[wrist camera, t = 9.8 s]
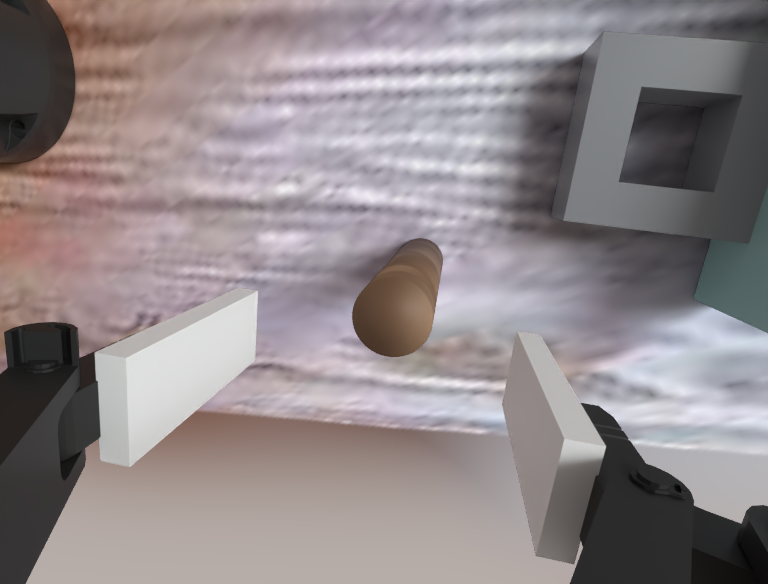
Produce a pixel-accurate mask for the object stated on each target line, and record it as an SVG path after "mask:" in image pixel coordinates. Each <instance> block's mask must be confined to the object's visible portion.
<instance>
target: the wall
mask: <svg viewBox="0 0 768 584" xmlns="http://www.w3.org/2000/svg"><path fill="white" fill-rule="evenodd" d="M693 299H694V300H696V301H699V302H701V303H703V304H705V305H707V306H710V307H712V308H714V309H716V310H718V311H721V312H723V313H725V314H727V315H729V316H731V317H734V318H736V319H738V320H740V321H742V322H745V323H747V324H749V325H751V326H753V327H756V328H758V329H760V330H762V331H764V332H767V333H768V186H767V189H766V192H765V195H764V198H763V201H762V204H761V207H760V210H759V214H758V217H757V220H756V223H755V226H754V229H753V232H752V235H751V238H750V241H749V244H747V243H739V242H731V241H723V240H715V239H711V241H710V245H709V248H708V251H707V255H706V258H705V261H704V265H703V268H702V271H701V275H700V278H699V281H698V285H697V288H696V291H695V295H694V298H693Z"/></svg>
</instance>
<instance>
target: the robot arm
mask: <svg viewBox="0 0 768 584" xmlns="http://www.w3.org/2000/svg"><path fill="white" fill-rule="evenodd" d="M74 94H75V71H74V63H73V57H72V52H71V49H70V45H69V42H68V39H67V36H66V34H65V31H64V29H63V27H62V24H61V22H60V21H59V19H58V17H57V15H56V13H55V12H54V10H53V9H52V7H51V6H50V4H49V3H48V2H47V0H0V163H20V162H25V161H28V160H31V159H34V158H36V157H38V156H40V155H41V154H43V153H44V152H46V151H47V150H48V149H49V148H50V147H51V146H52V145H53V144H54V143H55V142H56V141H57V140H58V138H59V137H60V136H61V134H62V132H63V131H64V129H65V127H66V125H67V122H68V120H69V117H70V114H71V111H72V107H73V102H74ZM257 306H258V291H257V290H251V289H244V288H237V289H234V290H232V291H230V292H228V293H225V294H223V295H221V296H219V297H217V298H214V299H212V300H210V301H208V302H205V303H203V304H201V305H199V306H197V307H194V308H192V309H190V310H188V311H185V312H183V313H181V314H179V315H176V316H174V317H172V318H170V319H168V320H165V321H163V322H161V323H159V324H156V325H154V326H152V327H150V328H148V329H145V330H143V331H141V332H139V333H136V334H133V335H130V336H128V337H126V338H124V339H121V340H119V342H115V343H112V344H110V345H108V346H107V347H104V348H101V349H99V350H97V351H95V352H92V353H90V354H88V355H86V356H83V357H81V358H79V342H78V328H77V327H75V326H74V325H71V324H67V323H58V322H46V323H34V324H27V325H23V326H19V327H15V328H12V329H10V330H8V331H6V332H4V336H5V345H6V355H7V364H8V368H7V369H6V370H5V371H3V372H2V373H1V374H0V584H26V582H27V579H28V577H29V576H30V574H31V571H32V569H33V568H34V566H35V564H36V562H37V560H38V558H39V556H40V554H41V552H42V550H43V548H44V546H45V544H46V542H47V540H48V538H49V536H50V534H51V532H52V530H53V528H54V526H55V524H56V522H57V520H58V518H59V516H60V514H61V512H62V510H63V508H64V506H65V504H66V502H67V500H68V498H69V496H70V494H71V492H72V490H73V488H74V486H75V484H76V482H77V480H78V478H79V476H80V474H81V472H82V470H83V468H84V466H85V460H86V455H85V448H86V447H87V446H89V445H90V444H91V443H93V442H94V441H96V440H97V439H99V446H100V461H104V462H108V463H113V464H118V465H122V466H127V467H130V466H132V465H133V464H134V463H135V462H136V461H137V460H139V459H140V458H141V457H142V456H143V455H144V454H146V453H147V452H148V451H149V450H150V449H152V448H153V447H154V446H155V445H156V444H157V443H159V442H160V441H161V440H162V439H163V438H164V437H166V436H167V435H168V434H169V433H170V432H172V431H173V430H174V429H175V428H176V427H177V426H178V425H180V424H181V423H182V422H183V421H184V420H186V419H187V418H188V417H189V416H190V415H192V414H193V413H194V412H195V411H196V410H197V409H199V408H200V407H201V406H202V405H203V404H204V403H206V402H207V401H208V400H209V399H210V398H211V397H213V396H214V395H215V394H216V393H217V392H219V391H220V390H221V389H222V388H223V387H224V386H226V385H227V384H228V383H229V382H230V381H231V380H233V379H234V378H235V377H236V376H237V375H239V374H240V373H241V372H242V371H243V370H244V369H246V368H247V367H248V366H249V365H250V364H251V363H253V362H254V361H255V350H256V328H257ZM502 406H503V410H504V415H505V419H506V424H507V428H508V433H509V437H510V442H511V446H512V451H513V455H514V459H515V464H516V469H517V473H518V477H519V482H520V487H521V491H522V496H523V500H524V505H525V509H526V514H527V518H528V523H529V527H530V532H531V536H532V541H533V545H534V550H535V554H536V556H538V557H544V558H548V559H552V560H557V561H562V562H566V563H571V564H574V563H575V559H576V555H577V552H578V548H579V544H580V541H581V542H582V545H583V550H582V552H581V555H580V558H579V560H578V563H577V566H576V568H575V571H574V574H573V577H572V579H571V582H570V584H768V506H764V505H762V506H761V505H760V506H751V507H750V508H749V509H748V510H747V511H746V514H745V516H744V519H743V522H742V524H740V523H738V522H735V521H732V520H729V519H727V518H724V517H721V516H719V515H716V514H713V513H711V512H708V511H705V510H703V509H700V508H698V507H696V506H694V499H693V497H692V494H691V492H690V491H689V489H688V488H687V487H686V486H685V485H684V484H683V483H682V482H681V481H679V480H678V479H676V478H675V477H673V476H672V475H670V474H669V473H667V472H665V471H662V470H661V469H658V468H656V467H654V466H651V465H648V464H646V463H645V462H644V460H643V459H642V457H641V456H640V454H639V453H638V452H637V450H636V449H635V447H634V446H633V444H632V443H631V442H630V441H628V437H627V436H626V434H625V433H624V432H623V431H621V427H620V426H619V424H618V423H617V422H616V420H615V419H614V417H613V416H611V415H610V414H608V413H607V412H606V411H604V410H603V409H602V408H600V407H599V406H596V405H590V404H584V403H580V401H579V400H578V398H577V396H576V395H575V393H574V391H573V390H572V388H571V386H570V384H569V383H568V381H567V379H566V378H565V376H564V374H563V373H562V371H561V369H560V368H559V366H558V364H557V363H556V361H555V359H554V357H553V356H552V354H551V352H550V351H549V349H548V347H547V346H546V344H545V342H544V341H543V339H542V337H541V335H539V334H533V333H526V332H520V331H517V333H516V338H515V343H514V348H513V353H512V358H511V363H510V368H509V373H508V378H507V383H506V388H505V393H504V398H503V403H502Z"/></svg>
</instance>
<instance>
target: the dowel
mask: <svg viewBox="0 0 768 584" xmlns="http://www.w3.org/2000/svg"><path fill="white" fill-rule="evenodd" d="M442 264H443V257H442V253H441V251H440V249H439V248H438V246H437V245H436V244H435V243H433V242H432V241H430V240H427V239H422V238H419V239H414V240H411V241H409V242H407V243H406V244H405V245H404V246H403V247H402V248H401V249H400V250H399V252H398V253H397V254H396V255H395V256H394V257H393V258H392V259H391V260H390V261H389V262H388V263H387V265H386V266H385V267H384V268H383V269H382V270H381V271H380V272H379V273H378V274H377V275H376V277H375V278H374V279H373V280H372V281H371V282H370V283H369V284H368V285H367V286H366V287H365V288H364V290H363V291H362V292H361V293H360V294H359V296H358V297H357V299H356V301H355V304H354V307H353V312H352V319H353V325H354V329H355V332H356V334H357V335H358V337H359V339H360V340H361V341H362V342H363V344H364V345H365V346H367V347H368V348H369V349H370V350H372V351H374V352H376V353H378V354H380V355H384V356H389V357H400V356H405V355H408V354H410V353H413V352H414V351H416V350H417V349H419V348H420V347H421V346H422V345H423V344H424V343H425V342H426V340H427V339H428V337H429V335H430V332H431V329H432V325H433V319H434V313H435V307H436V301H437V295H438V289H439V282H440V276H441V270H442Z"/></svg>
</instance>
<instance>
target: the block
mask: <svg viewBox="0 0 768 584" xmlns="http://www.w3.org/2000/svg"><path fill="white" fill-rule="evenodd" d="M638 102H645V103H656V104H667V105H678V106H690V107H701V108H704V110H703V114H702V118H701V121H700V125H699V128H698V132H697V136H696V139H695V143H694V147H693V150H692V154H691V157H690V161H689V165H688V168H687V172H686V175H685V179H684V183H683V186H682V189H677V188H668V187H659V186H650V185H641V184H632V183H623V182H619V178H620V174H621V170H622V166H623V162H624V158H625V153H626V149H627V145H628V141H629V137H630V133H631V128H632V124H633V120H634V116H635V112H636V108H637V104H638ZM767 186H768V43H762V42H748V41H734V40H720V39H705V38H691V37H677V36H663V35H648V34H634V33H620V32H606V31H604V32H603V33H602V34H601V35H600V36H599V37H598V38H597V39H596V40H595V42H594V43H593V44H592V45H591V46H590V47H589V48H588V49H587V50H586V51H585V52H584V57H583V61H582V66H581V71H580V76H579V81H578V85H577V90H576V95H575V100H574V105H573V110H572V114H571V119H570V124H569V129H568V134H567V139H566V143H565V148H564V153H563V158H562V163H561V168H560V172H559V177H558V182H557V187H556V192H555V197H554V201H553V206H552V211H551V216H550V217H552V218H555V219H559V220H563V221H570V222H578V223H586V224H594V225H602V226H610V227H618V228H626V229H634V230H642V231H650V232H659V233H667V234H675V235H683V236H691V237H699V238H707V239H715V240H723V241H731V242H739V243H747V244H749V241H750V238H751V235H752V232H753V229H754V226H755V223H756V220H757V217H758V214H759V210H760V207H761V204H762V201H763V198H764V195H765V192H766V189H767Z"/></svg>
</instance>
